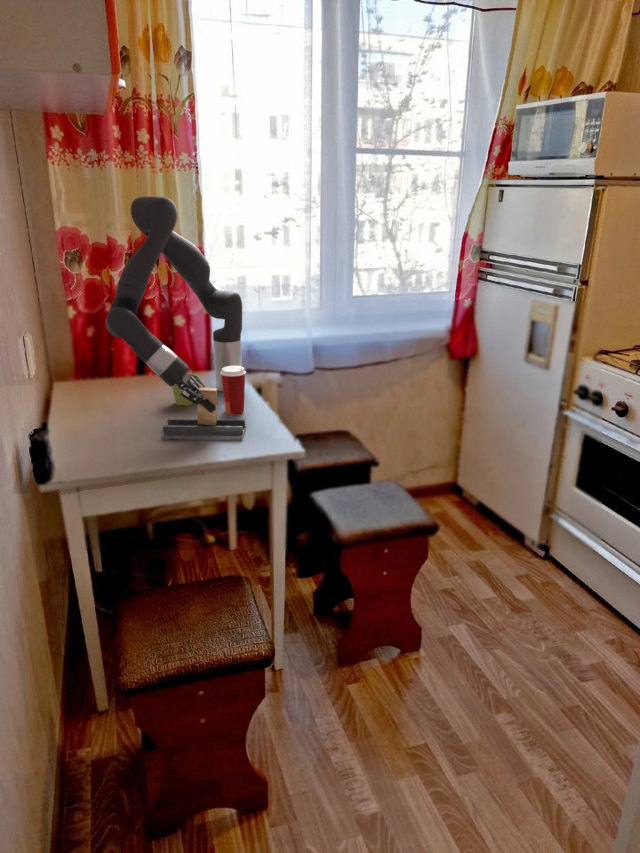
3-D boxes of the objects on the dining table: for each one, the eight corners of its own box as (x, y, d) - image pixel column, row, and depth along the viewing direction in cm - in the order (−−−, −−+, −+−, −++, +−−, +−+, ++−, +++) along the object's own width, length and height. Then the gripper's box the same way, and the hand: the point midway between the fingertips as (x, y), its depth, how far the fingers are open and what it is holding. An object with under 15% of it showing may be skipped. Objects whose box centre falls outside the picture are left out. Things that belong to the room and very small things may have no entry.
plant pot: (177, 410, 191) (175, 383, 188) (165, 401, 198) (163, 376, 195) (204, 404, 196) (203, 378, 193) (192, 396, 203) (190, 371, 200)
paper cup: (251, 409, 192) (250, 366, 187) (240, 417, 185) (238, 373, 180) (229, 406, 194) (227, 364, 189) (217, 414, 188) (215, 370, 183)
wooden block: (199, 421, 173) (199, 387, 169) (216, 422, 173) (217, 388, 169) (197, 424, 171) (197, 389, 167) (215, 425, 171) (215, 391, 167)
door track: (170, 426, 178) (169, 416, 177) (246, 427, 178) (245, 417, 177) (162, 439, 168) (161, 428, 167) (242, 440, 168) (241, 429, 167)
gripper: (170, 362, 158) (220, 407, 163) (181, 349, 171) (227, 391, 176) (151, 382, 160) (201, 426, 165) (164, 367, 173) (209, 409, 178)
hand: (214, 408), depth 170 cm, fingers closed on wooden block, 2 cm apart
